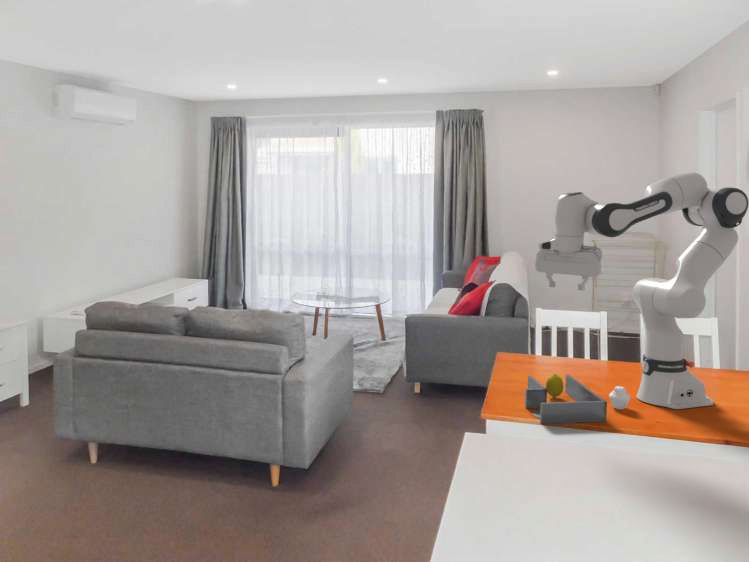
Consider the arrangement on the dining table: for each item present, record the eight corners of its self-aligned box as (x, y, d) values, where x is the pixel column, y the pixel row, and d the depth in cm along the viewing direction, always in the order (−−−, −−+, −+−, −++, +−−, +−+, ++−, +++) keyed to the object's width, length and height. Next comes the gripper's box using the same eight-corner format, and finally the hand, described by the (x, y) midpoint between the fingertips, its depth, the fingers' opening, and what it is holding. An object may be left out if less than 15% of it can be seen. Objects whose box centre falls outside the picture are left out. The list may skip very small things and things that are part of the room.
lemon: (563, 401, 195) (564, 377, 194) (545, 400, 196) (546, 376, 195) (562, 395, 201) (563, 372, 199) (544, 394, 202) (545, 371, 201)
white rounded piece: (604, 404, 192) (606, 383, 191) (623, 404, 192) (624, 382, 191) (614, 411, 186) (615, 389, 185) (633, 411, 186) (634, 388, 185)
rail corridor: (568, 391, 204) (568, 374, 204) (606, 421, 177) (607, 401, 176) (511, 393, 203) (512, 376, 202) (541, 423, 176) (541, 403, 175)
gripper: (605, 246, 185) (603, 290, 187) (542, 242, 198) (540, 284, 200) (598, 247, 181) (595, 293, 182) (533, 243, 193) (532, 286, 195)
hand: (566, 288), depth 191 cm, fingers open, 8 cm apart
